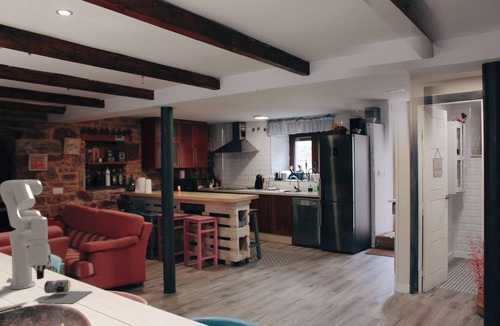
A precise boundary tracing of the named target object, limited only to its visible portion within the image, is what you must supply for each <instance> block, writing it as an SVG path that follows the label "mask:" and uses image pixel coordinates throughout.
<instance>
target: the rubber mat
mask: <svg viewBox="0 0 500 326" xmlns="http://www.w3.org/2000/svg"><path fill="white" fill-rule="evenodd" d="M92 293H93V291H90V290H89V291H86V290H83V291H81V290H69V291H67V292H58V293H52V294H51V295H49V296H47V297H45V298H43V299H42V300H40V301H37V304H52V303H54V304H60V305H61V304H62V305H63V304H65V305H66V304H67V305H74V304H75V303H77V302H79V301H80V300H82V299H84V298H85V297H87V296H88V295H90V294H92Z"/></svg>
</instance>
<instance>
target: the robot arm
mask: <svg viewBox="0 0 500 326" xmlns="http://www.w3.org/2000/svg"><path fill="white" fill-rule="evenodd" d="M42 192H43V184H42V182H41V181H40V180H39V179H11V180H6V181H3V182H2V183H1V184H0V196H1V199H2V201H3V203H4V204H5V206H6V211H7V216H8V220H9V225H10V227H12V228H14V230H12V231H10V234H9V242H10V248H11V272H12V273H11V275H12V277H11V278H7V279H6V282H5V283H7V284H9V283H10V285H8V287H9V289H11V290H23V289H28V288H29V289H30V288H32V287H34V286H35V285H36V282H35V280H33V269H34V271H35V272H36V280H42V279H44V276H45V270H46V269H47V268H49V267H51V266H52V265H51V264H52V253H51V252H52V251H51V246H50V244H49V238H48V237H49V236H48V235H49V232H48V228H49V227H48V218H47V217H46V216H43V215H42V214H41V212H40V210H37V209H31V208H33V207H34V206H35V204H36V201H37V200H36V198H35V196H36V195H37V196H38V195H41V194H42ZM27 246H29V247H27Z"/></svg>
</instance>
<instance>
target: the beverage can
mask: <svg viewBox="0 0 500 326" xmlns="http://www.w3.org/2000/svg"><path fill="white" fill-rule="evenodd" d="M43 285H44V286H43V290H44V292H45V293H46V294H54V293H58V292H67V291H71V286H72V285H71V280H69V279H56V280H46V282H45V283H44V284H43Z"/></svg>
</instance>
